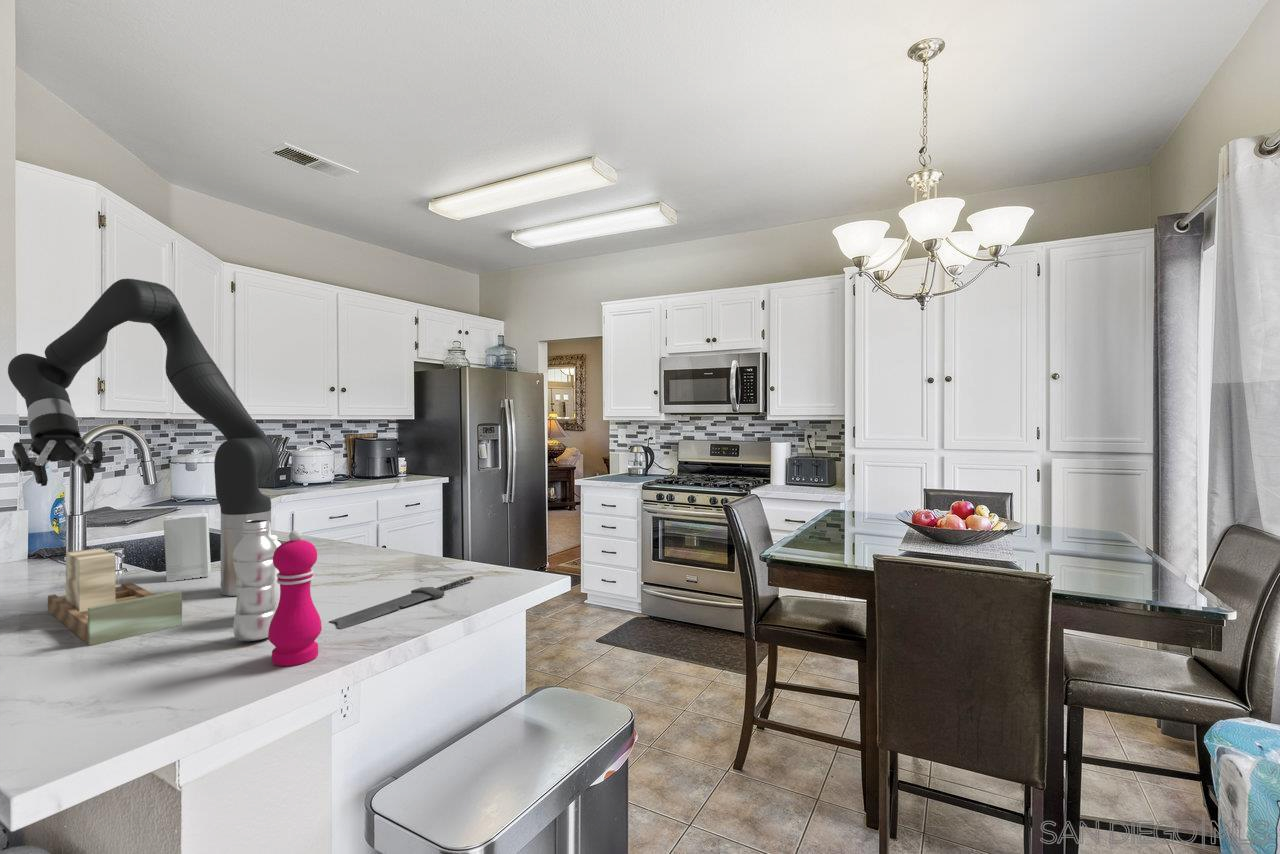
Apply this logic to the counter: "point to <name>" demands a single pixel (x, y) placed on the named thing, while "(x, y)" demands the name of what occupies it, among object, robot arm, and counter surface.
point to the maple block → (90, 578)
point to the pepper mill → (294, 604)
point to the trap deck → (120, 614)
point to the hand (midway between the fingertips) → (67, 481)
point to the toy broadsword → (395, 604)
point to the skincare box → (187, 546)
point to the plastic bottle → (254, 582)
